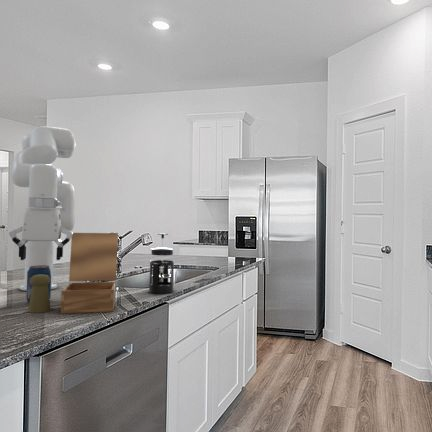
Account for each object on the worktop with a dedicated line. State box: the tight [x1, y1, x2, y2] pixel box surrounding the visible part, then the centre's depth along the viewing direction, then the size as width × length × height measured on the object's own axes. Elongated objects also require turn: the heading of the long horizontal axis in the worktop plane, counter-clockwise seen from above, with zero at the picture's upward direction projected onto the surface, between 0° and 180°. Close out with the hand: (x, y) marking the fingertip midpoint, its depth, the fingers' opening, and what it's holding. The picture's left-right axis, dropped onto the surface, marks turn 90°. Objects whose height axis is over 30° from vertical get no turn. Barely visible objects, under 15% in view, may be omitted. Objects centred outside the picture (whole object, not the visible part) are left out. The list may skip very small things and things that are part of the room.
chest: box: [60, 281, 117, 315], centre depth 138 cm, size 16×15×7 cm
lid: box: [68, 232, 119, 282], centre depth 147 cm, size 16×15×1 cm
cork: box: [27, 274, 52, 314], centre depth 132 cm, size 6×6×11 cm
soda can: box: [26, 265, 52, 304], centre depth 143 cm, size 7×7×12 cm
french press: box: [148, 232, 175, 295], centre depth 167 cm, size 12×9×23 cm
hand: (41, 259), depth 132 cm, fingers open, 9 cm apart
